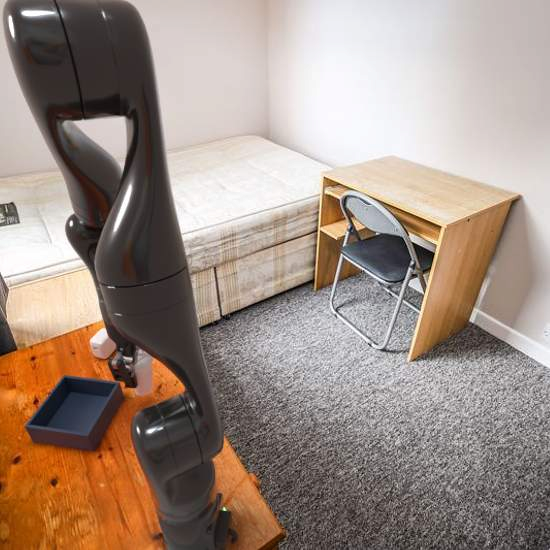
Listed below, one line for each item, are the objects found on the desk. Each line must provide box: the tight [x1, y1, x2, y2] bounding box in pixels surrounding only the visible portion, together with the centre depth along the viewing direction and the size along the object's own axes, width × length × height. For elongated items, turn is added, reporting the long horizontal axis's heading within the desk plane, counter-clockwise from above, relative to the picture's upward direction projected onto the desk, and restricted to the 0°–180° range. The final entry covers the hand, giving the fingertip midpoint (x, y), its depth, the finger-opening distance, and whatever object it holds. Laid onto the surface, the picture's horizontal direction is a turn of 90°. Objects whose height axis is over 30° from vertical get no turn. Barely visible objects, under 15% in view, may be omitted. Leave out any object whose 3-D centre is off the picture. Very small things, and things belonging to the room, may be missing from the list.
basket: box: [23, 374, 125, 452], centre depth 81 cm, size 13×13×5 cm
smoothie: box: [123, 349, 154, 397], centre depth 78 cm, size 6×6×14 cm
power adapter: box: [89, 327, 116, 360], centre depth 100 cm, size 11×5×6 cm, turn 164°
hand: (139, 372), depth 79 cm, fingers closed on smoothie, 6 cm apart
